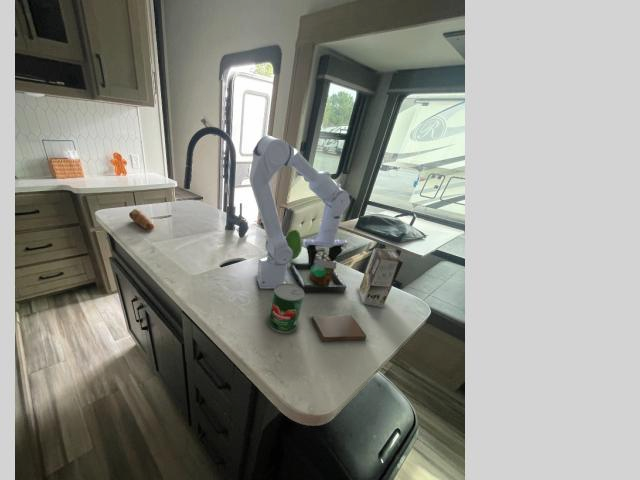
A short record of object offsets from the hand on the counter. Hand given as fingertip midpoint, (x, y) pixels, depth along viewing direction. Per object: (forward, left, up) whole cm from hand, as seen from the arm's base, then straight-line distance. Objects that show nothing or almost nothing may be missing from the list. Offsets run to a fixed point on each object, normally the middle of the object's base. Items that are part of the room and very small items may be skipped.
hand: (319, 265), depth 94 cm
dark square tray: (0, 0, -6) cm, 6 cm away
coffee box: (+15, -12, -6) cm, 20 cm away
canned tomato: (-18, -24, -6) cm, 31 cm away
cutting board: (-3, -27, -6) cm, 28 cm away
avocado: (-5, +17, 0) cm, 18 cm away
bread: (-69, +52, -6) cm, 87 cm away
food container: (0, 0, -6) cm, 6 cm away
